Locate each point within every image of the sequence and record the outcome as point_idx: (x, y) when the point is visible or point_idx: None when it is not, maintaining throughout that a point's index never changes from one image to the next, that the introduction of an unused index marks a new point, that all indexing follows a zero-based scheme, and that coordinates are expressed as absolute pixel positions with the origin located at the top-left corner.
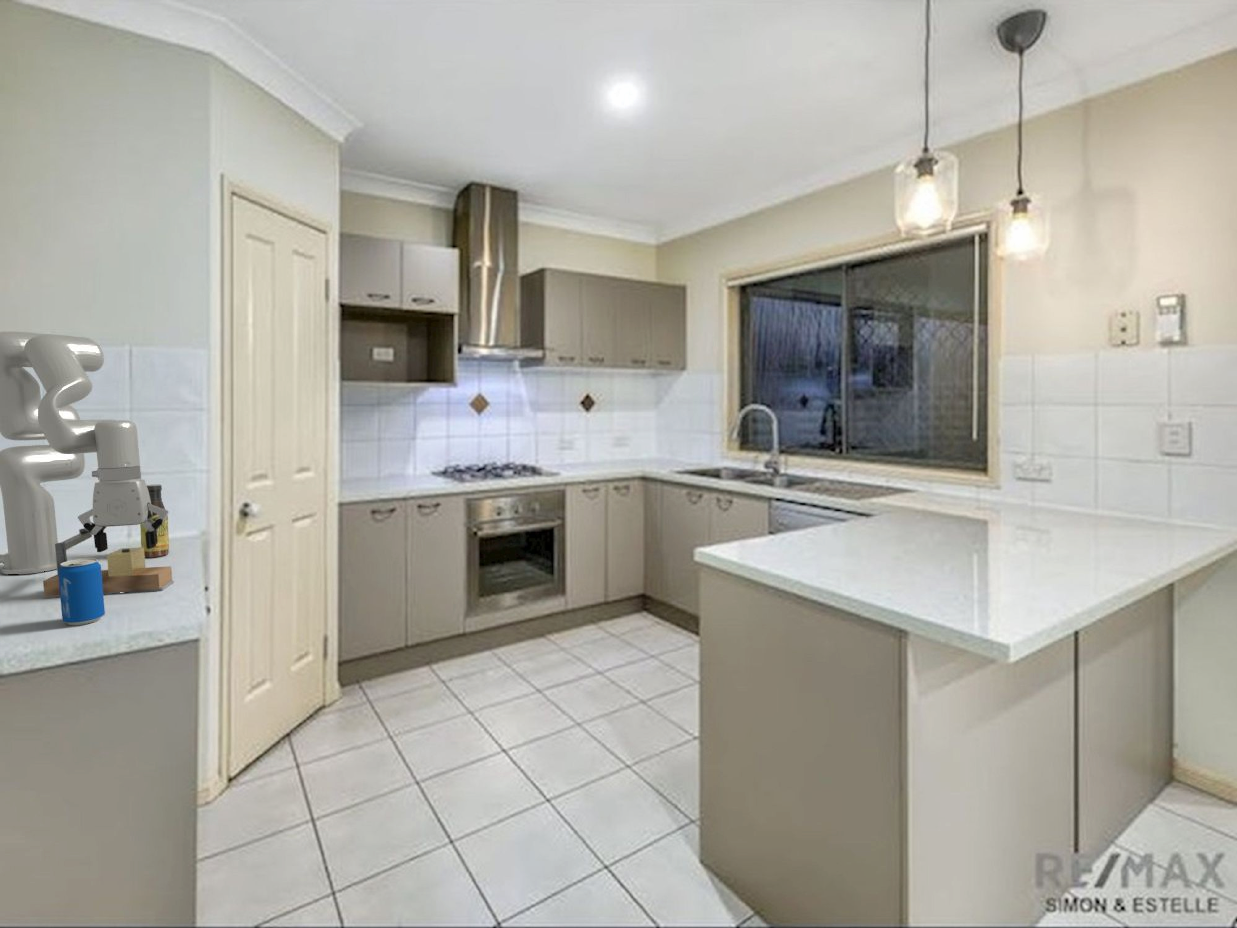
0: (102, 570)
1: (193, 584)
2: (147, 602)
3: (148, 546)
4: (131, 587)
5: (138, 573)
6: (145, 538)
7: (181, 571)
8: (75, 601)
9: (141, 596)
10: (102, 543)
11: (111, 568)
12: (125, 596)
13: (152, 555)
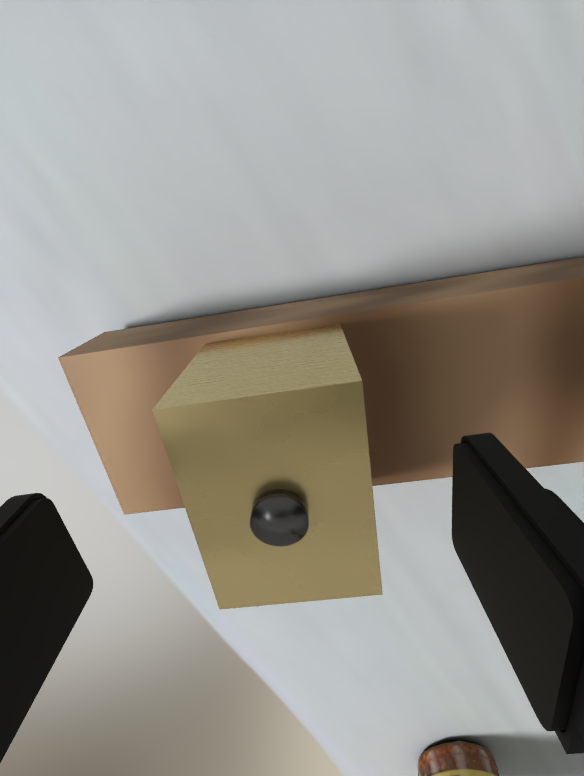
0: None
1: (37, 425)
2: (9, 107)
3: (9, 506)
4: (224, 315)
5: None
6: None
7: None
8: None
9: (136, 241)
10: (488, 531)
11: (323, 342)
12: (223, 249)
13: (451, 749)
